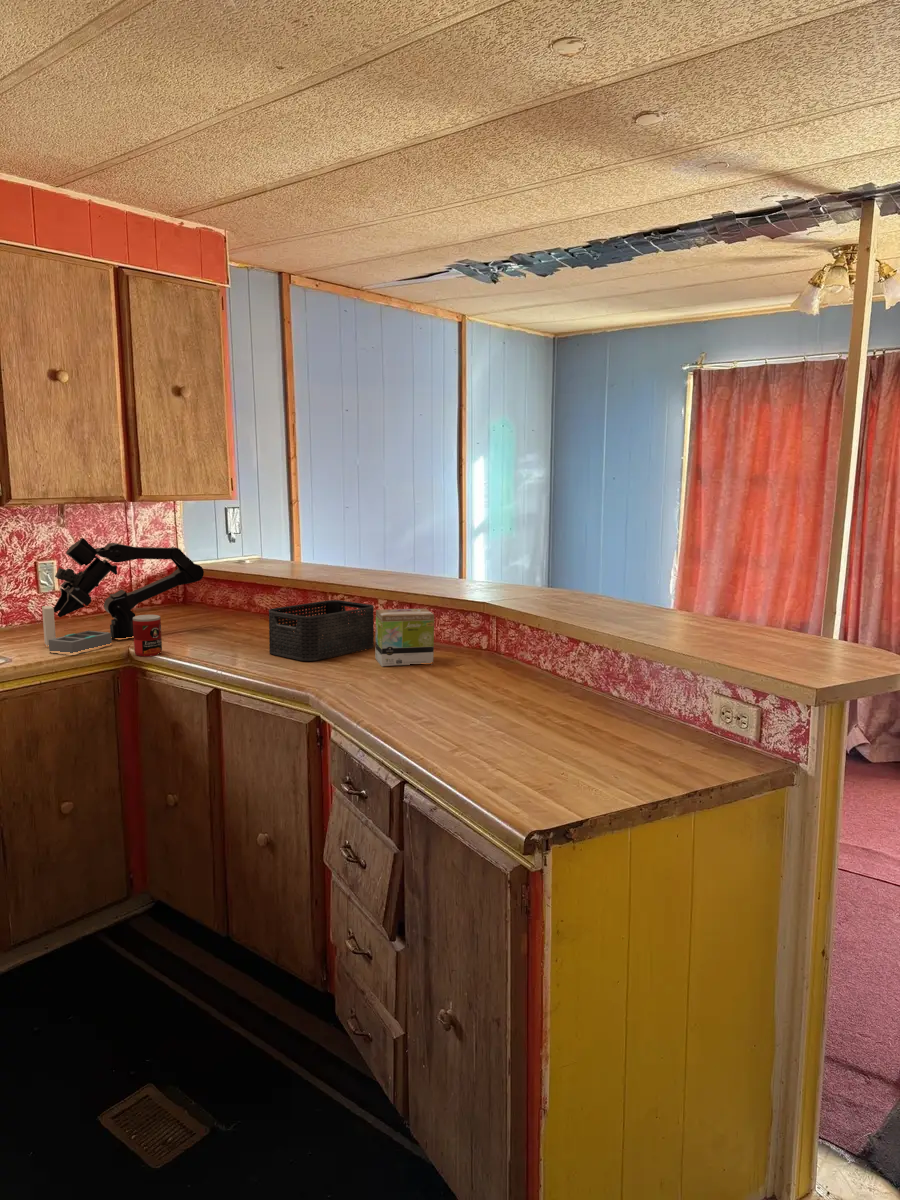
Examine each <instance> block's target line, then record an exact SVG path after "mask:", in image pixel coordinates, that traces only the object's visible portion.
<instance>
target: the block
mask: <svg viewBox="0 0 900 1200" xmlns="http://www.w3.org/2000/svg"><path fill="white" fill-rule="evenodd" d="M41 609H42V610H41V611H42V612H41V614H42V624H43V625H42V626H43V638H44V639H43V641H44V645H45V644H46V645H47V646H48V645H49V640H50V639H55V638H57V637H56V624H55V623H56V622H55V612H54V607H53V606H52V605H44V606H41Z"/></svg>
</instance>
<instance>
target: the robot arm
mask: <svg viewBox="0 0 900 1200" xmlns="http://www.w3.org/2000/svg"><path fill="white" fill-rule="evenodd" d="M65 554H66V555H68V557H70V558H71V559H72V560H73V561H74V562H76V564H78V565H79V566H83V565H84V566H87V567H86V568H85V569H84V570H83V571H82V570H81V571H79V572H77V573H76V572H75V570H74V569H72V568H66V569H64V568H62V567H58V569H57V572H56V574H55V575H54V577H55V578H56V579H58V580H60V581H63V582H62V584H61V585H60V588H59V590H60V596H59V598H58V600H57V601H56V603H55V605H54V607H53V608H54V614H55V613H57V612H58V613H57V616H58V617H59V618H62V617H64V616H67V615H69V614H71V613H73V612H75V611H78V610H80V609H82V608H85V607H87V606H89V605H90V604H91V603H92V596H90V593H91V592H92V591H93V590H94V589H95V588H98V587H99V586H100V584H99V583H101V582H102V581H103V580H104V578H105V577H107V575H109V573H112V574H114V575H118V570H117V569H118V565H116V563H124V562H130V561H133V560H171V561H172V563H173V564H174V565H175V566H176V567H177V568H176V570H174V571H173V572H172V573H171V574H168V575H166V576H165V577H163V578H159V579H157V580H155V581H153V582H151V583H148V584H146V585H144V586H142V587H139V588H137V589H135V590H133V591H130V592H127V591H125V590H123V589H119V590H118V591H117V592H115V593H111V594H109V596H108V597H106V599H105V600H104V603H103V609H104V611H105V612H106V613H108V614H110V616H111V618H112V619H111V620H110V622H111V623H110V624H109V631H110V632H109V633H111V637H112V638H126V637H132V636H134V635H133V617H135V616H136V613H134V611H132V610H133V609H134V608H135V607H136V606H137V605H139V604H140V603H143V602H145V601H146V600H149V599H151V598H154V597H155V596H158V595H160V594H163V593H164V592H167V591H170V590H171V589H173V588H176V587H178V586H183V585H189V584H193V583H197V582H199V581H201V580H202V579H203V578H204V575H205V571H204V568H203V567H202V566H201V565H200V564H197V563H194V562H193V561H192V560H191V559H190V558H189V557H188V556H187V555H186V554H184V552H183V551H182V550H181V549H180V548H179V547H175V546H172V547H171V546H170V547H153V546H152V547H151V546H131V545H127V544H122V543H117V542H110V543H107V544H106V545H105V546H104V547H97V548H94V546H92V545H91V544H90V543H89V542H88V541H87V540H86V539H85V538H84V537H81V538H80V539H79V540H77V541H75V542H74V544H72V545H70V547H68V549H67V550H66V552H65ZM99 557H100V558H105V559H102V560H101V559H100V558H99ZM109 561H111V562H113V563H115V564H112V563H111V562H109Z"/></svg>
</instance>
